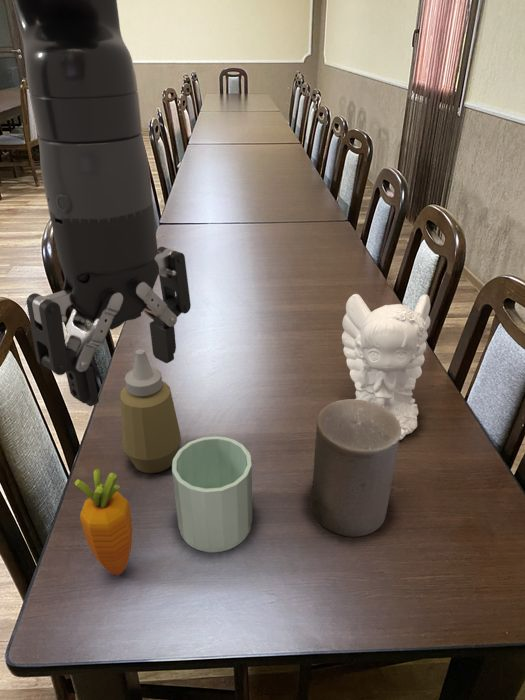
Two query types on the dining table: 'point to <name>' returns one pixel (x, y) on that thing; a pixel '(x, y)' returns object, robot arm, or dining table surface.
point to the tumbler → (213, 493)
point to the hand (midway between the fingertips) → (128, 379)
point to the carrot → (107, 523)
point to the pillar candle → (354, 466)
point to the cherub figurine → (387, 354)
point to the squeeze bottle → (148, 418)
